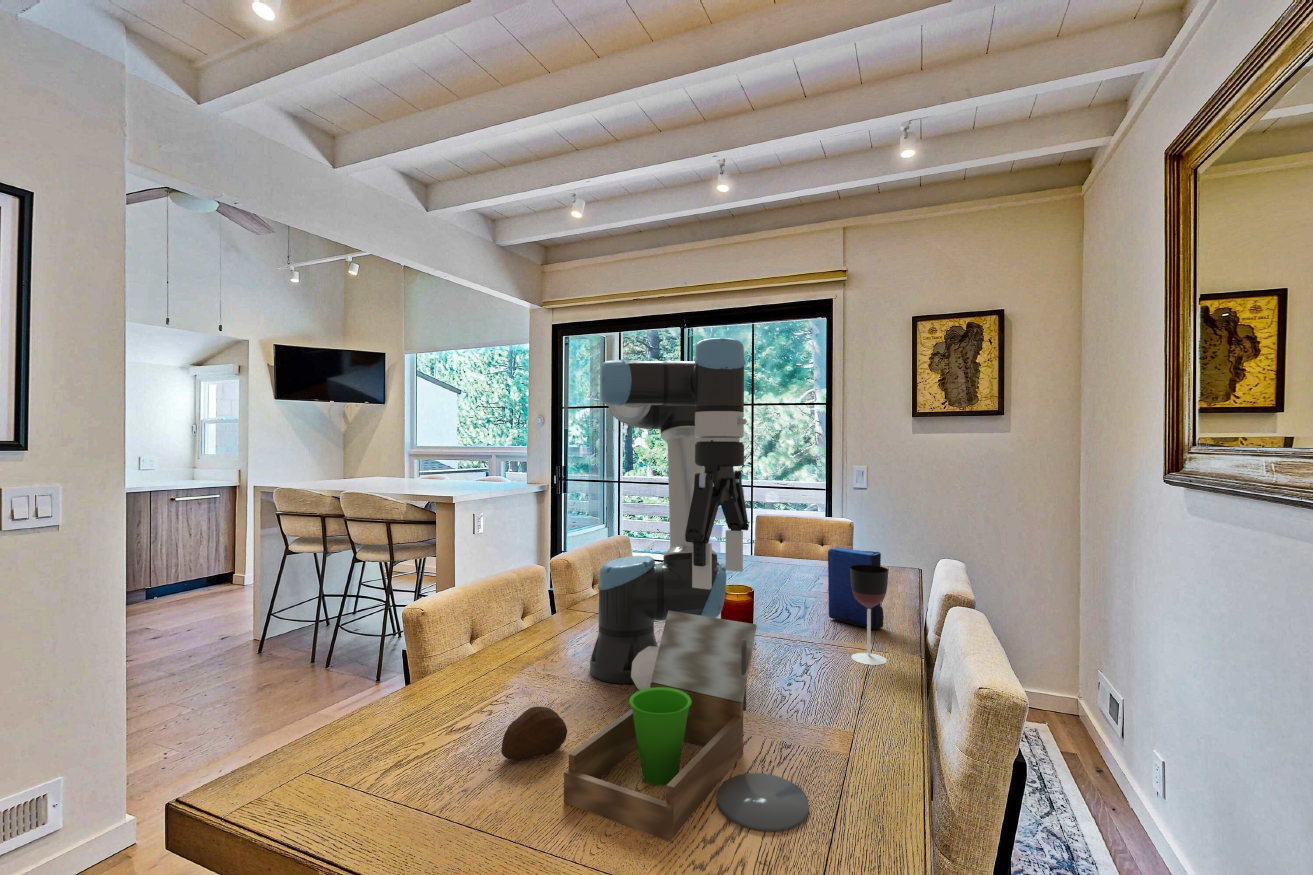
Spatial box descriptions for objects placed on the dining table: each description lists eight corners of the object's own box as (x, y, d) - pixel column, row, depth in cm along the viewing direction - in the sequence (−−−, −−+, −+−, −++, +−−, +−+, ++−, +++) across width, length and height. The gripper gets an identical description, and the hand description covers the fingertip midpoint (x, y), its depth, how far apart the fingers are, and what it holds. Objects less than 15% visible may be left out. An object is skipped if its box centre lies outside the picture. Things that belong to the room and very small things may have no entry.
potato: (492, 754, 94) (492, 709, 94) (553, 735, 100) (553, 692, 100) (511, 774, 88) (511, 726, 88) (574, 752, 95) (575, 707, 95)
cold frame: (563, 802, 81) (564, 662, 82) (669, 715, 107) (670, 609, 108) (669, 841, 74) (670, 686, 74) (756, 737, 100) (756, 623, 100)
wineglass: (848, 662, 134) (848, 570, 134) (851, 650, 142) (851, 563, 142) (887, 667, 131) (887, 574, 131) (888, 654, 139) (888, 566, 139)
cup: (686, 797, 83) (686, 716, 83) (621, 789, 84) (621, 709, 85) (695, 763, 91) (695, 689, 92) (636, 757, 93) (636, 684, 93)
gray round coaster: (702, 813, 79) (702, 807, 79) (736, 770, 90) (737, 764, 90) (792, 843, 73) (792, 836, 73) (819, 793, 84) (819, 787, 84)
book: (885, 628, 158) (886, 551, 158) (875, 632, 155) (875, 553, 155) (836, 616, 169) (836, 544, 169) (825, 620, 165) (826, 546, 166)
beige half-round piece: (615, 683, 117) (659, 711, 108) (630, 636, 118) (674, 660, 110) (645, 685, 123) (689, 711, 114) (659, 640, 124) (703, 663, 116)
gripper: (711, 439, 81) (711, 599, 81) (766, 440, 103) (766, 566, 103) (661, 439, 85) (660, 593, 84) (725, 440, 107) (724, 562, 107)
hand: (719, 579), depth 94 cm, fingers open, 13 cm apart
